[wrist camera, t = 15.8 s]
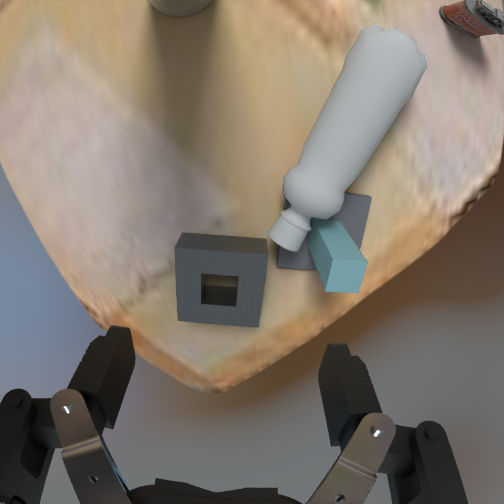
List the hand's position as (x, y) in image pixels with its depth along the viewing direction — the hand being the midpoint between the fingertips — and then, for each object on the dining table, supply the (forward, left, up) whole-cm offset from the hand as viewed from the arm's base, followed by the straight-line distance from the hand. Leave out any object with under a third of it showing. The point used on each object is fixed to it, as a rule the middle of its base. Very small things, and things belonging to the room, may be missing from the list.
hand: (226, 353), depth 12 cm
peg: (+7, +12, -31) cm, 34 cm away
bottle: (-7, +11, -32) cm, 34 cm away
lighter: (-30, +30, -32) cm, 53 cm away
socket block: (+15, -2, -32) cm, 35 cm away
